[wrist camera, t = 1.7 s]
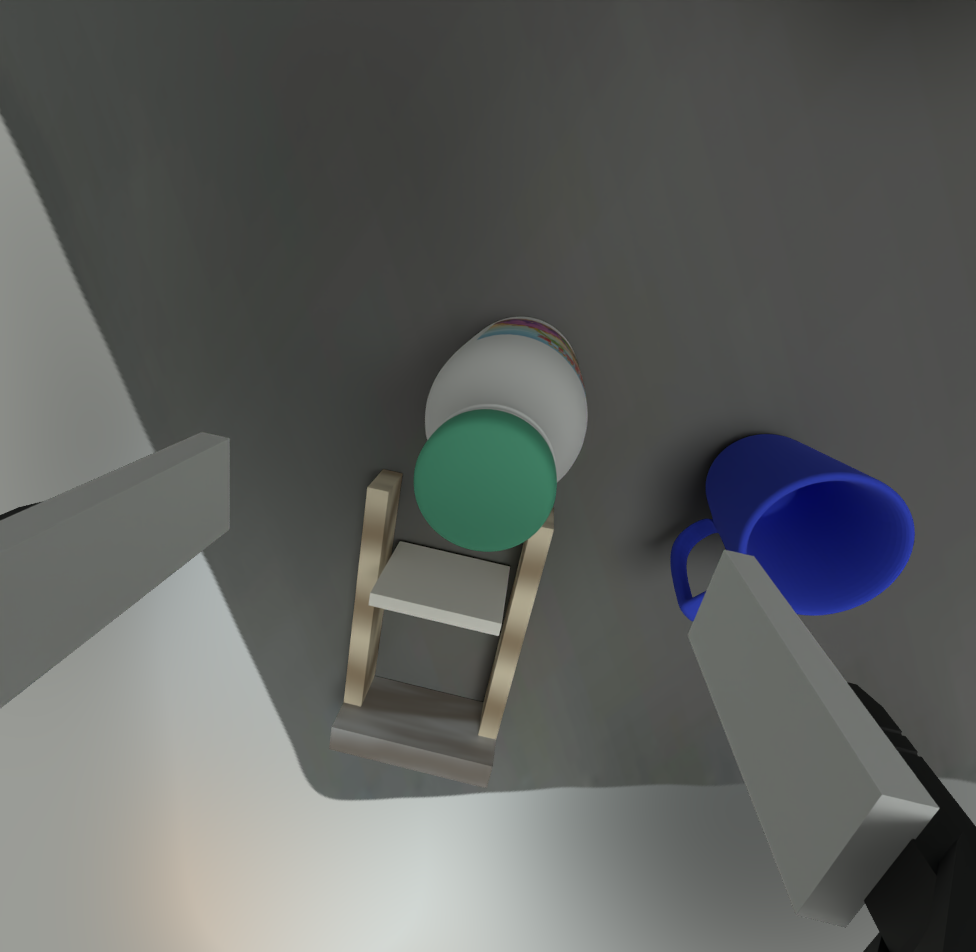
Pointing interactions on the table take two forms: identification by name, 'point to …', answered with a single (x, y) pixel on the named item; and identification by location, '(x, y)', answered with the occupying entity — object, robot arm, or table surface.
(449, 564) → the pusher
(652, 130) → the table surface
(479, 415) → the milk bottle
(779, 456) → the mug
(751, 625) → the robot arm
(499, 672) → the lane
